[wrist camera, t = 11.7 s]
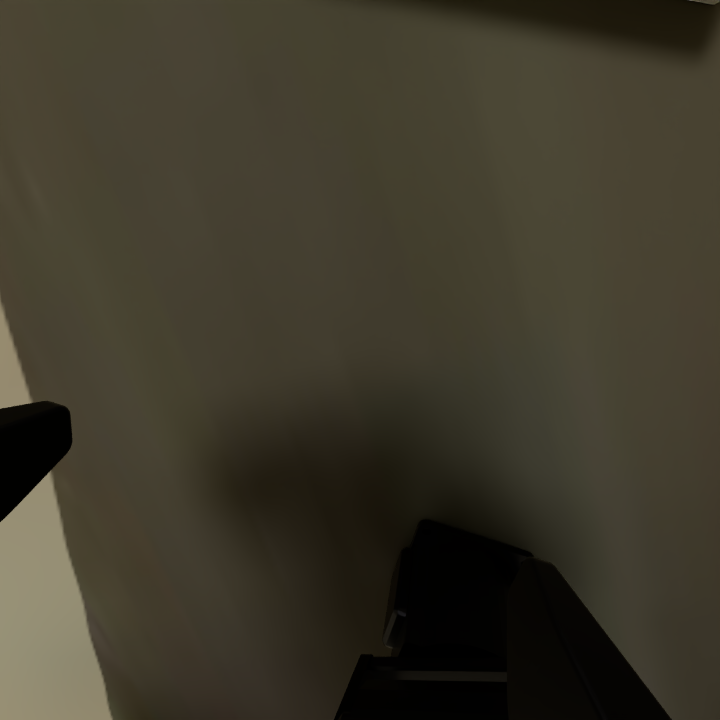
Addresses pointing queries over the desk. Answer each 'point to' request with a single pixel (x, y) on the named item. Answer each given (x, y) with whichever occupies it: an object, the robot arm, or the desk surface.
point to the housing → (707, 1)
